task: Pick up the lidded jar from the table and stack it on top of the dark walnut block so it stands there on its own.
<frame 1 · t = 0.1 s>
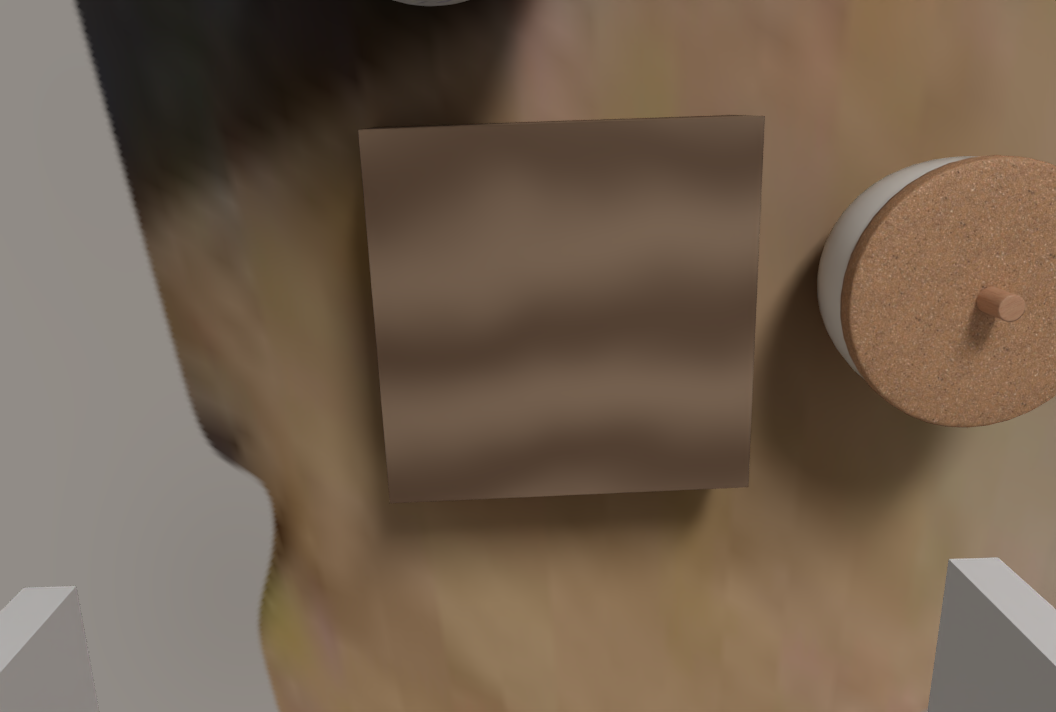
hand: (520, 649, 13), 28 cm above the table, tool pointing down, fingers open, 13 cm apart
walnut block: (558, 295, 41), on the table
lidded jar: (894, 262, 40), on the table
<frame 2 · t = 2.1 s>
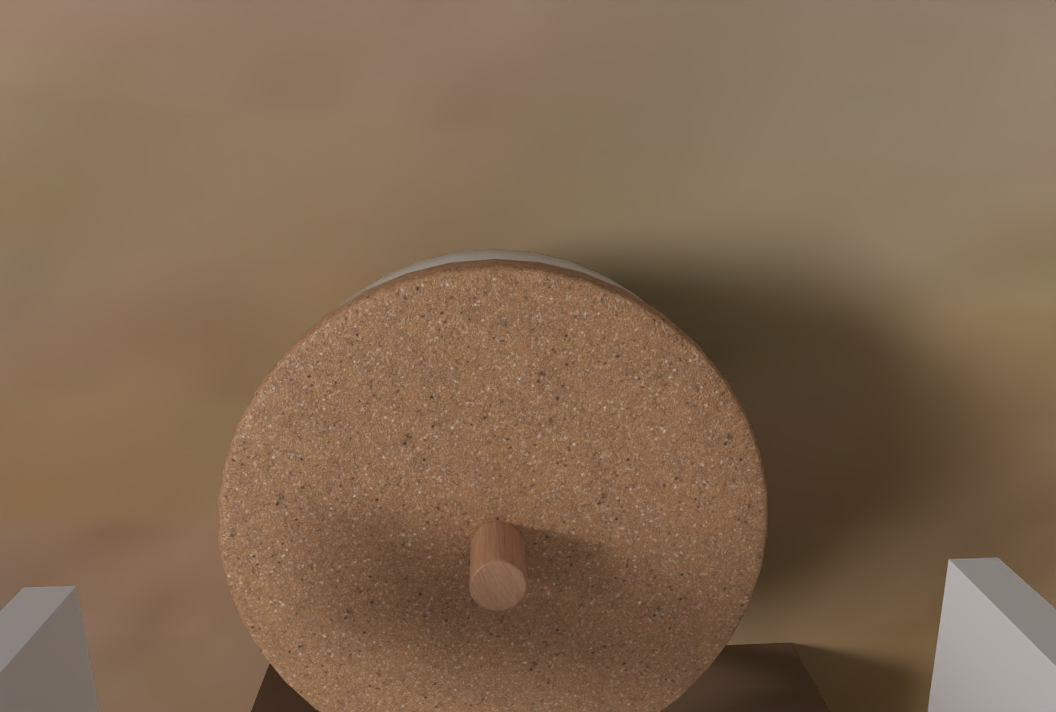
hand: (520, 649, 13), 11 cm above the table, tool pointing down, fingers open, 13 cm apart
lidded jar: (493, 405, 24), on the table
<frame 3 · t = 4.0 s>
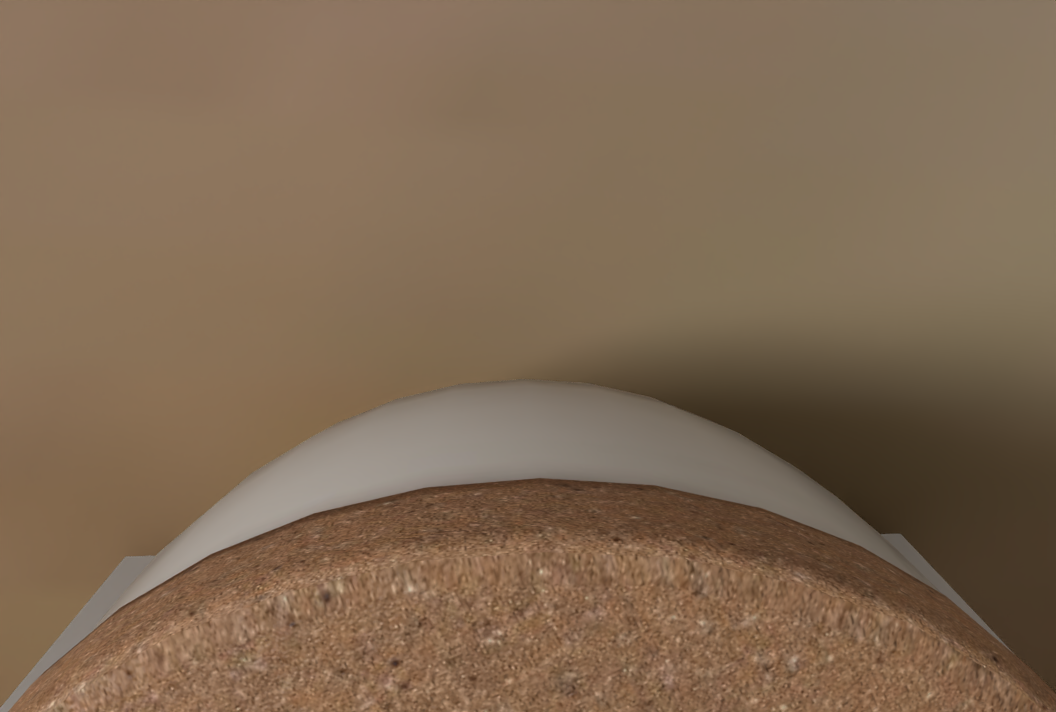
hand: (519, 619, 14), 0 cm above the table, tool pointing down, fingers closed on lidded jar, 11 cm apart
lidded jar: (518, 596, 14), on the table, touching gripper
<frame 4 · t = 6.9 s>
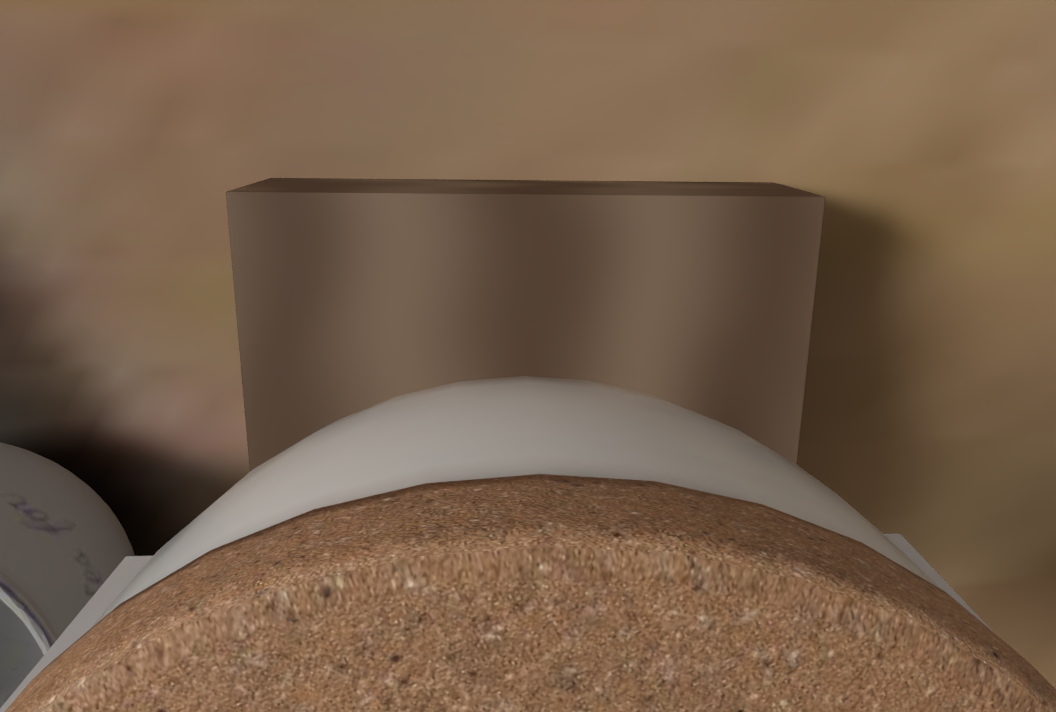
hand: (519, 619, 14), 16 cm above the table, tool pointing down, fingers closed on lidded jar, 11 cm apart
walnut block: (521, 412, 30), on the table
lidded jar: (518, 594, 14), point 15 cm above the table, touching gripper
when the fingers open (7 cm above the table, at t = 10.1 s): lidded jar drops 2 cm, resting on walnut block.
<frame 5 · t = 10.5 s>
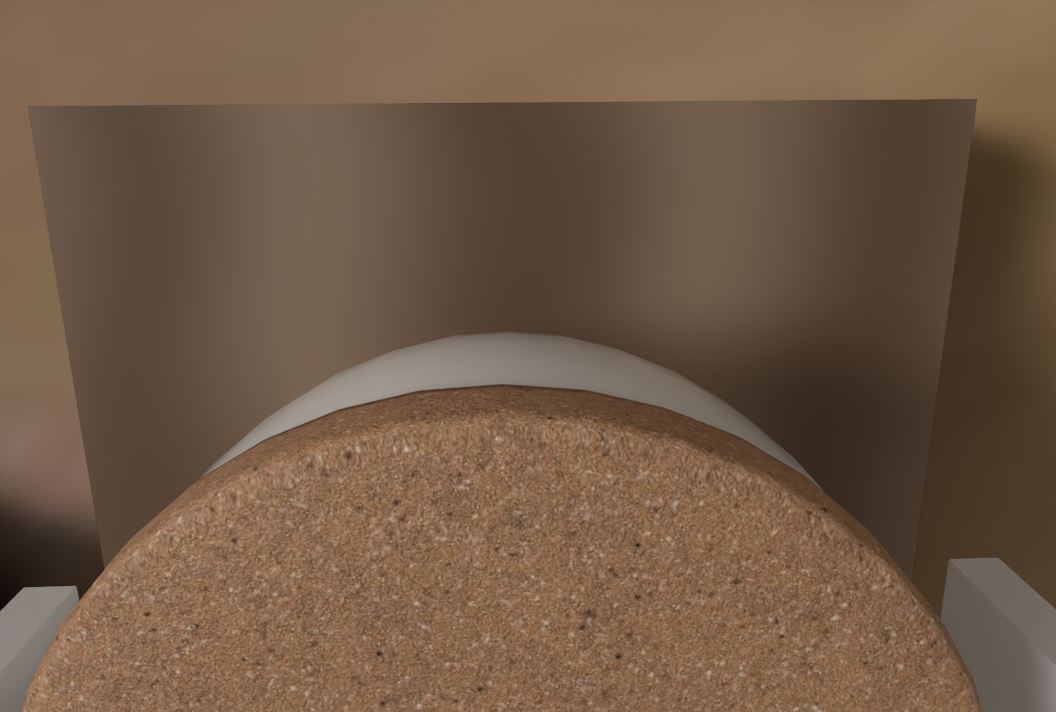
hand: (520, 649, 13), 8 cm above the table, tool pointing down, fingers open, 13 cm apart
walnut block: (511, 435, 21), on the table, touching lidded jar
lidded jar: (511, 529, 17), point 4 cm above the table, touching walnut block
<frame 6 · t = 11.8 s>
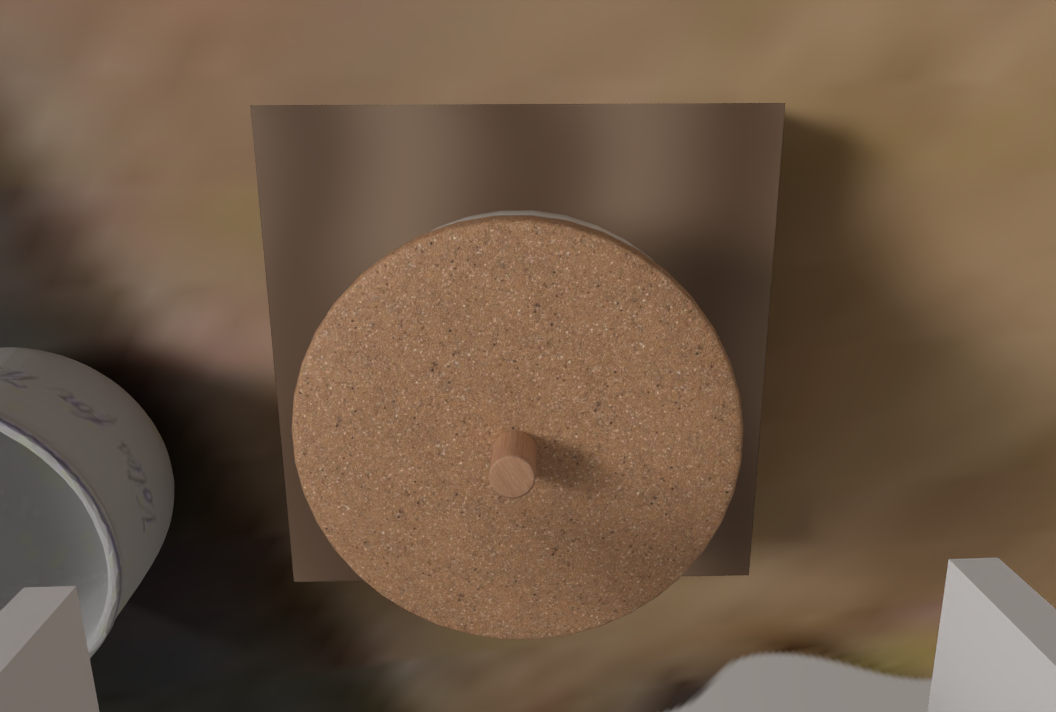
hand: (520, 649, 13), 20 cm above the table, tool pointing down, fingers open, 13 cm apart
walnut block: (519, 323, 33), on the table, touching lidded jar
teacup: (30, 434, 33), on the table
lidded jar: (526, 352, 28), point 4 cm above the table, touching walnut block
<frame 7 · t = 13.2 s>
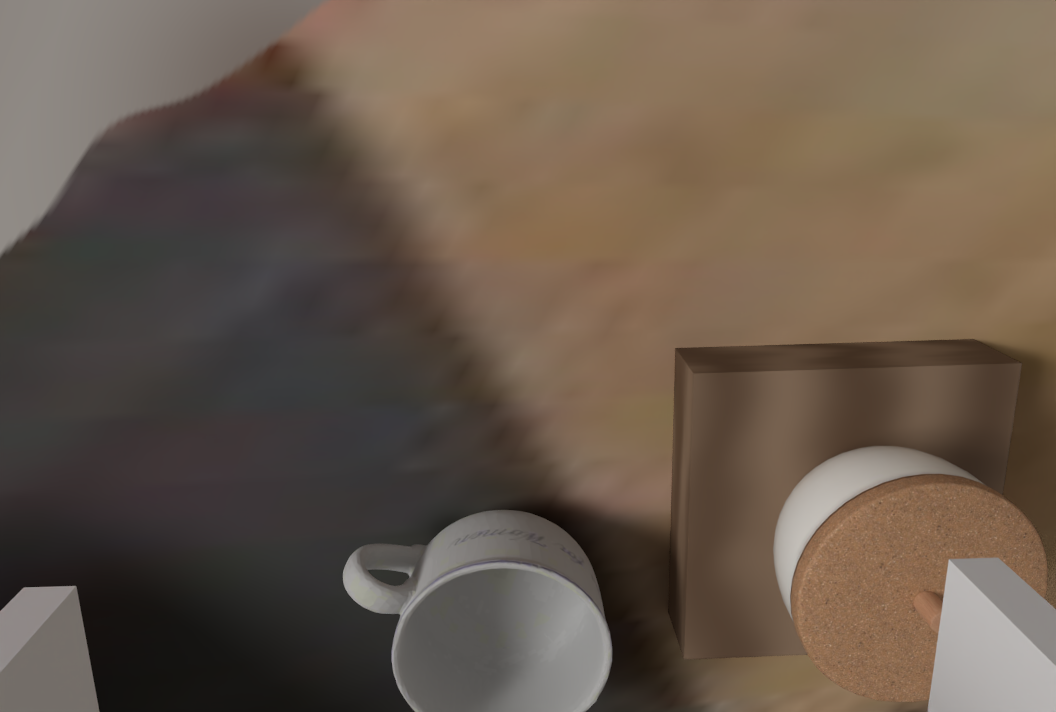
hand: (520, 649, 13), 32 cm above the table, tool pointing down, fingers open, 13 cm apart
walnut block: (810, 477, 48), on the table
teacup: (479, 557, 49), on the table
lidded jar: (848, 508, 43), point 4 cm above the table
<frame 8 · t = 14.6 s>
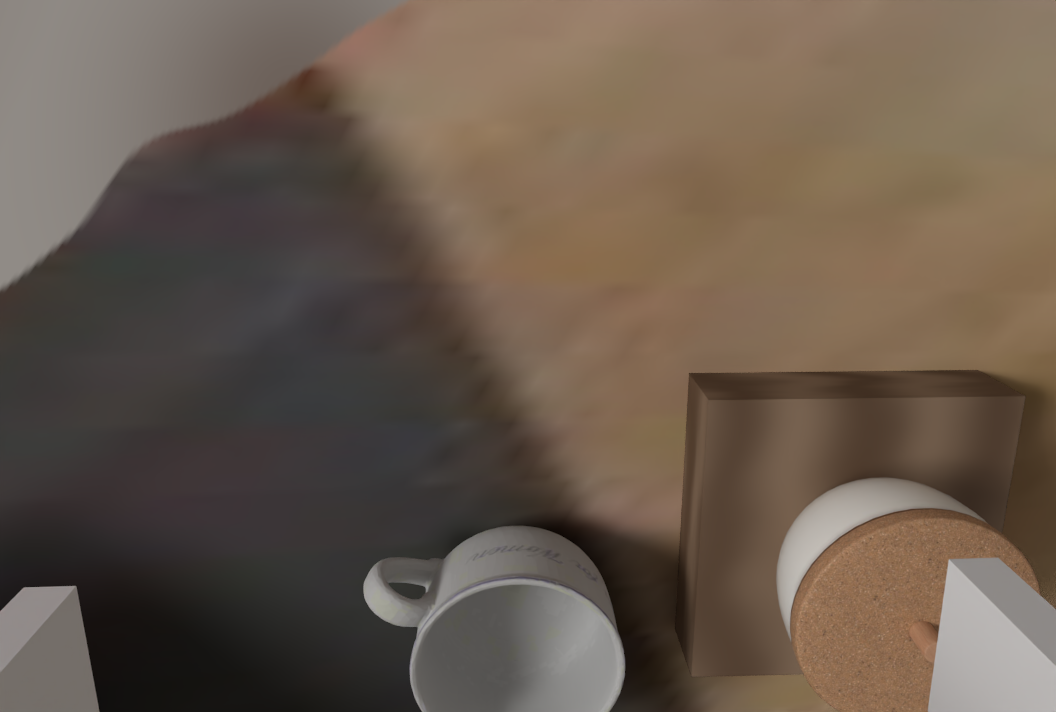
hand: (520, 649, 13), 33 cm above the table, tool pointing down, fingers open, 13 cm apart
walnut block: (816, 500, 49), on the table
teacup: (493, 571, 50), on the table
lidded jar: (852, 536, 45), point 4 cm above the table
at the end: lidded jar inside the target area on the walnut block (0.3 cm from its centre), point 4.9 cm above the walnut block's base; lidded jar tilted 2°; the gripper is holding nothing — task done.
